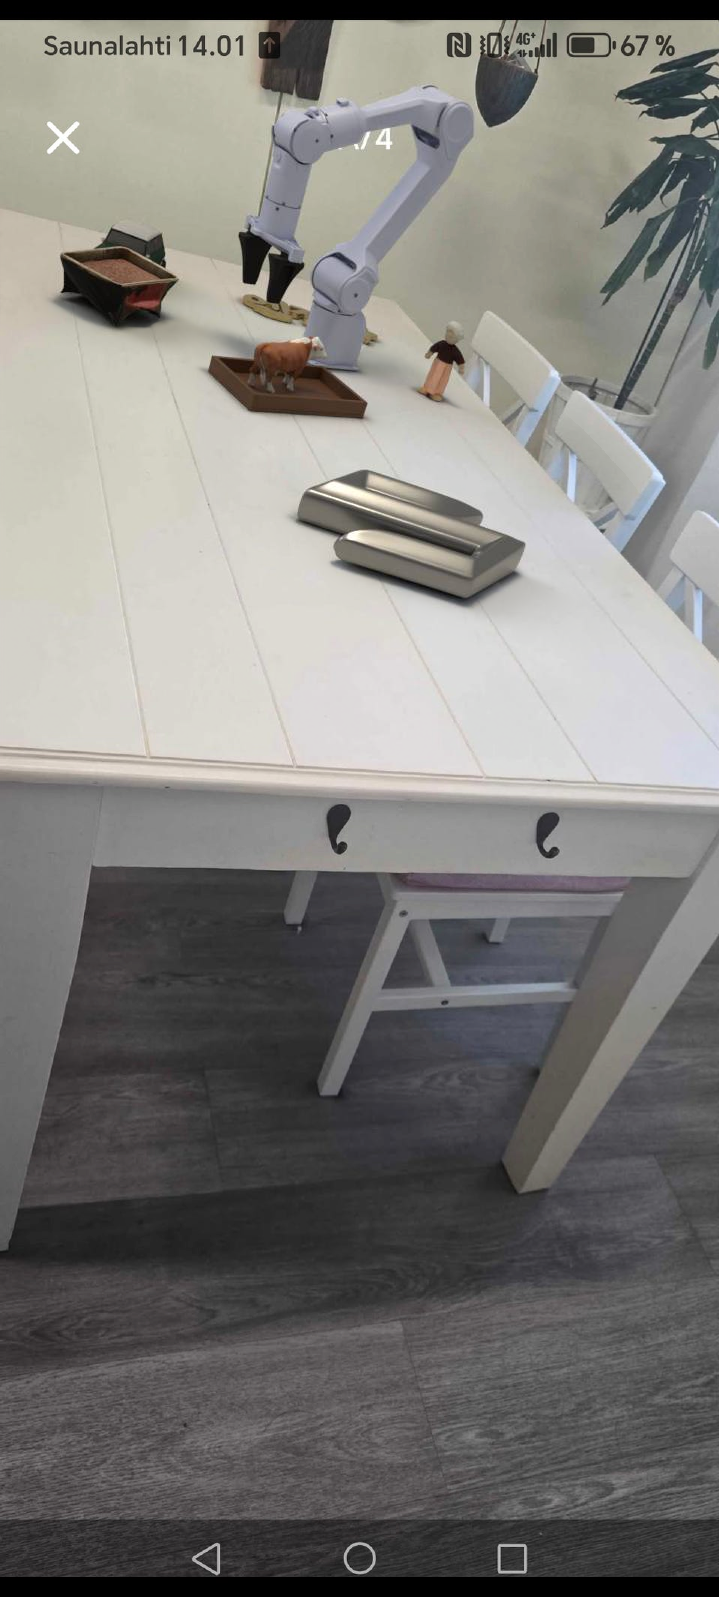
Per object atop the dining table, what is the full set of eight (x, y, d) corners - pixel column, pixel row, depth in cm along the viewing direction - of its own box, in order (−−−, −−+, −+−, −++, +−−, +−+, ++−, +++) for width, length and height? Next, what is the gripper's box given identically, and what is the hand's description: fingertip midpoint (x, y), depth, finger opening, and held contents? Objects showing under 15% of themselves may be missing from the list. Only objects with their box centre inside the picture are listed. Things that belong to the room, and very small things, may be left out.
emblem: (457, 464, 168) (567, 568, 150) (444, 499, 171) (551, 606, 153) (277, 446, 153) (375, 559, 136) (266, 485, 156) (361, 600, 139)
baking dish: (176, 336, 198) (191, 272, 193) (105, 327, 183) (120, 258, 178) (108, 307, 202) (122, 244, 198) (33, 296, 187) (46, 228, 183)
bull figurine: (320, 394, 189) (335, 342, 184) (254, 394, 180) (268, 340, 175) (303, 381, 191) (317, 330, 186) (236, 381, 182) (250, 327, 177)
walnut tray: (319, 380, 195) (323, 365, 194) (363, 417, 188) (367, 402, 186) (207, 371, 183) (211, 354, 182) (250, 410, 176) (254, 393, 174)
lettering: (244, 311, 212) (246, 306, 211) (240, 293, 220) (241, 288, 219) (380, 347, 219) (381, 341, 219) (371, 328, 227) (372, 323, 227)
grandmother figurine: (408, 389, 206) (433, 314, 198) (416, 385, 209) (440, 311, 201) (449, 407, 204) (475, 333, 197) (456, 403, 207) (482, 329, 200)
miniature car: (82, 276, 201) (90, 226, 196) (118, 256, 216) (127, 209, 211) (133, 295, 201) (142, 245, 197) (166, 274, 216) (176, 227, 211)
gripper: (236, 180, 184) (216, 271, 192) (285, 214, 176) (261, 308, 184) (275, 187, 188) (254, 276, 196) (324, 221, 180) (300, 312, 188)
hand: (260, 292), depth 190 cm, fingers open, 7 cm apart
